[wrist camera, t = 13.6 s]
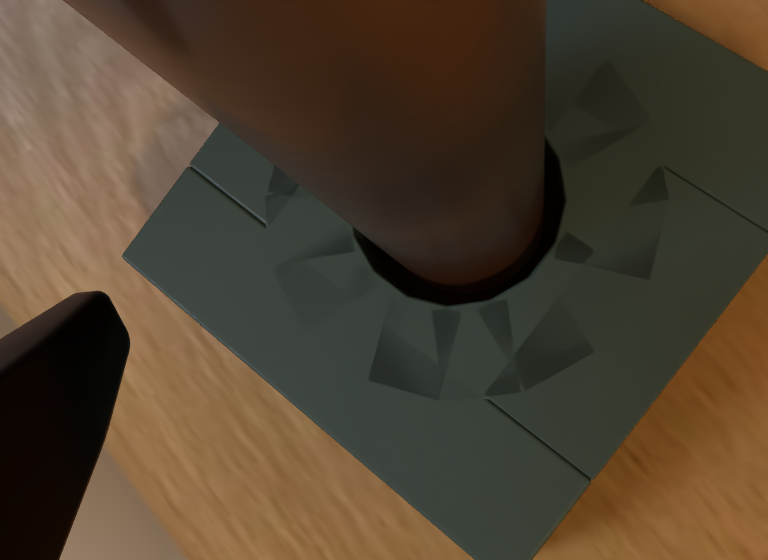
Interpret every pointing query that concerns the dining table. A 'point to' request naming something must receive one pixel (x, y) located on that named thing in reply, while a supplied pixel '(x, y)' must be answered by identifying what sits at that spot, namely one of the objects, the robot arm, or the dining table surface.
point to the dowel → (375, 112)
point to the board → (513, 306)
